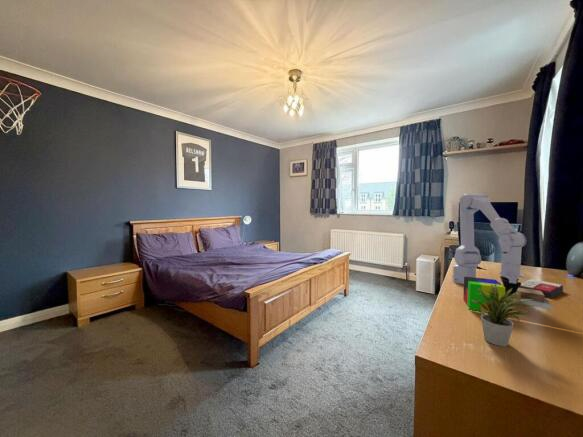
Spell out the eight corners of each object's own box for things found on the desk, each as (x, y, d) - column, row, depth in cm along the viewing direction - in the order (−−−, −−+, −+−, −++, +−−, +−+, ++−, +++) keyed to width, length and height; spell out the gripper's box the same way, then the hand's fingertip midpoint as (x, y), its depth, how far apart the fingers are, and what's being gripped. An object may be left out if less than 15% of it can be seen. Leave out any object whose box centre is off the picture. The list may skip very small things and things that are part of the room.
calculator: (516, 284, 108) (529, 277, 115) (515, 293, 109) (529, 286, 116) (551, 291, 99) (563, 284, 106) (550, 301, 99) (563, 293, 106)
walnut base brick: (516, 296, 100) (517, 291, 100) (514, 292, 105) (514, 287, 105) (544, 301, 96) (544, 295, 96) (540, 296, 100) (540, 290, 100)
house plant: (512, 364, 58) (515, 298, 58) (454, 336, 71) (456, 282, 70) (541, 350, 64) (545, 290, 63) (483, 326, 77) (485, 276, 76)
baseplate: (484, 298, 100) (484, 297, 100) (482, 288, 113) (482, 287, 112) (554, 311, 88) (554, 310, 88) (543, 297, 101) (543, 296, 101)
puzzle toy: (494, 304, 94) (495, 279, 93) (503, 315, 85) (505, 287, 84) (463, 300, 98) (464, 276, 97) (469, 310, 89) (470, 283, 88)
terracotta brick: (499, 299, 97) (500, 289, 97) (498, 296, 101) (499, 287, 100) (520, 303, 94) (520, 293, 94) (518, 299, 97) (518, 290, 97)
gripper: (528, 268, 88) (526, 304, 89) (521, 260, 100) (519, 293, 101) (502, 265, 92) (501, 300, 93) (499, 258, 104) (497, 289, 105)
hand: (509, 296), depth 97 cm, fingers closed on terracotta brick, 4 cm apart
